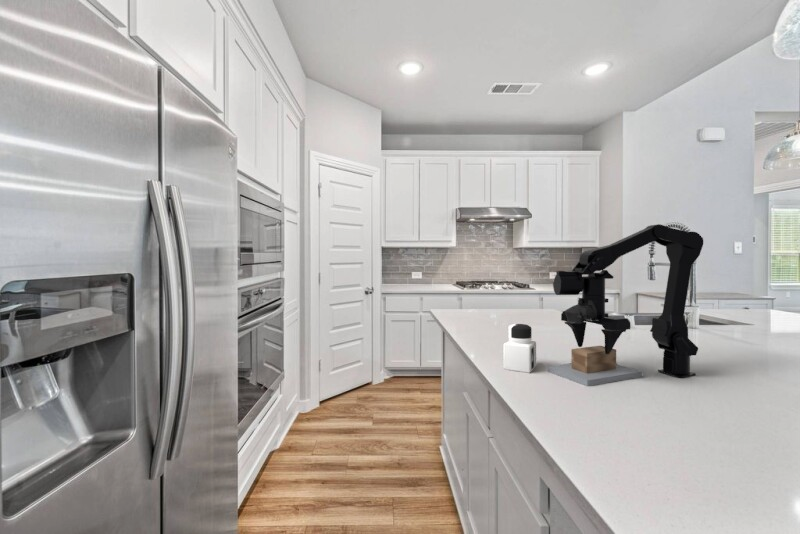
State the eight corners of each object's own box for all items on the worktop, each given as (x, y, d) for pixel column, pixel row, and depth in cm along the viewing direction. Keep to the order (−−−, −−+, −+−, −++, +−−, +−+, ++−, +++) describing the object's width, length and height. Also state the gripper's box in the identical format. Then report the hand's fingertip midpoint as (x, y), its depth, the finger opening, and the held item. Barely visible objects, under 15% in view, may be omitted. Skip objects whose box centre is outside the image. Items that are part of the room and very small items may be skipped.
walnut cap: (599, 364, 114) (599, 345, 114) (616, 369, 109) (616, 349, 109) (571, 368, 110) (571, 349, 110) (587, 373, 105) (587, 353, 105)
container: (536, 366, 117) (536, 323, 117) (529, 373, 111) (529, 327, 110) (510, 363, 121) (510, 321, 121) (503, 369, 115) (502, 325, 114)
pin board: (599, 363, 120) (599, 347, 119) (642, 376, 107) (642, 358, 106) (547, 371, 112) (547, 354, 112) (587, 386, 99) (587, 366, 99)
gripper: (546, 293, 115) (546, 346, 115) (600, 299, 97) (600, 361, 98) (575, 291, 119) (575, 342, 119) (632, 297, 101) (631, 357, 102)
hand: (593, 350), depth 109 cm, fingers open, 9 cm apart
